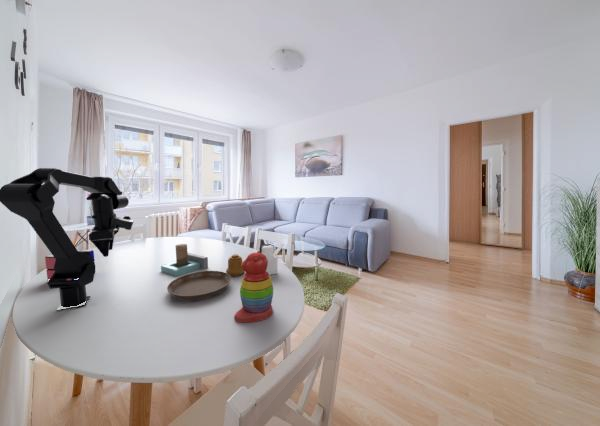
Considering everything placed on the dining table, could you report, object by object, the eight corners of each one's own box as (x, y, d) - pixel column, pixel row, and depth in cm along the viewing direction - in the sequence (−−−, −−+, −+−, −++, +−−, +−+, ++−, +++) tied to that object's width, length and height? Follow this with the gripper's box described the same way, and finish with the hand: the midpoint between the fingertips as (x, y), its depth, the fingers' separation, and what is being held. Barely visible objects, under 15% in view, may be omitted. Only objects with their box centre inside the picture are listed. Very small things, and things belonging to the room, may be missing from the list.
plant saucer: (210, 307, 70) (209, 297, 69) (152, 300, 74) (151, 291, 73) (240, 281, 90) (240, 272, 89) (194, 276, 94) (193, 269, 93)
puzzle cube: (72, 282, 87) (69, 257, 86) (46, 282, 87) (43, 256, 86) (96, 273, 97) (94, 250, 96) (73, 272, 97) (71, 249, 96)
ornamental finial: (231, 269, 101) (247, 270, 100) (223, 276, 94) (240, 277, 93) (230, 252, 100) (246, 253, 99) (222, 257, 93) (240, 258, 92)
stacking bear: (245, 302, 72) (244, 247, 70) (277, 304, 71) (276, 248, 69) (231, 322, 62) (229, 258, 60) (268, 324, 60) (267, 259, 59)
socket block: (176, 276, 93) (176, 270, 93) (161, 271, 99) (160, 265, 98) (200, 268, 103) (199, 262, 102) (184, 264, 108) (184, 259, 108)
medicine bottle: (256, 270, 100) (256, 244, 99) (272, 268, 103) (272, 242, 102) (261, 276, 94) (260, 247, 92) (277, 273, 97) (277, 246, 95)
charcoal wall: (204, 269, 102) (203, 258, 101) (182, 263, 110) (181, 253, 109) (208, 267, 103) (207, 257, 103) (186, 262, 111) (185, 252, 111)
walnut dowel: (185, 271, 99) (184, 246, 98) (175, 271, 99) (173, 246, 98) (190, 267, 104) (188, 243, 103) (180, 267, 104) (178, 244, 102)
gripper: (128, 213, 79) (133, 256, 82) (132, 207, 95) (136, 243, 97) (85, 215, 73) (91, 262, 76) (97, 209, 89) (102, 247, 91)
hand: (108, 252), depth 85 cm, fingers open, 9 cm apart
